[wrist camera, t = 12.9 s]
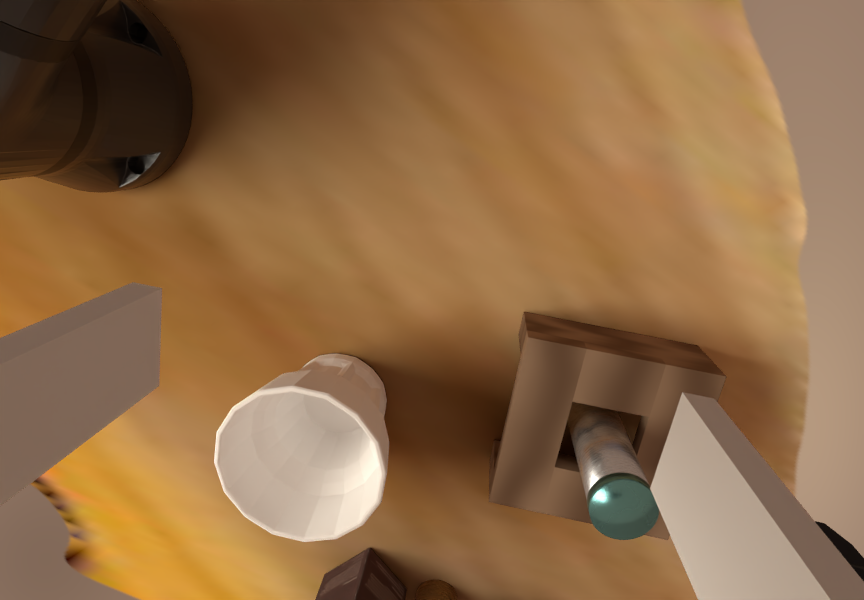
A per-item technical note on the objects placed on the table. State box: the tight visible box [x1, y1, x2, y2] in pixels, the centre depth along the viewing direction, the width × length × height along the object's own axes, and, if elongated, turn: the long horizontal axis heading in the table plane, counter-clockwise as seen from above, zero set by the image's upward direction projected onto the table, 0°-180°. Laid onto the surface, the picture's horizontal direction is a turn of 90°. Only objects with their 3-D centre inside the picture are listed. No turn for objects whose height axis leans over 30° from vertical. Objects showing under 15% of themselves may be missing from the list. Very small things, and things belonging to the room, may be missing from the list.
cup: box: [214, 353, 389, 542], centre depth 45 cm, size 12×12×11 cm
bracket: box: [489, 312, 726, 540], centre depth 45 cm, size 14×14×6 cm
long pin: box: [567, 402, 659, 540], centre depth 41 cm, size 4×4×14 cm
